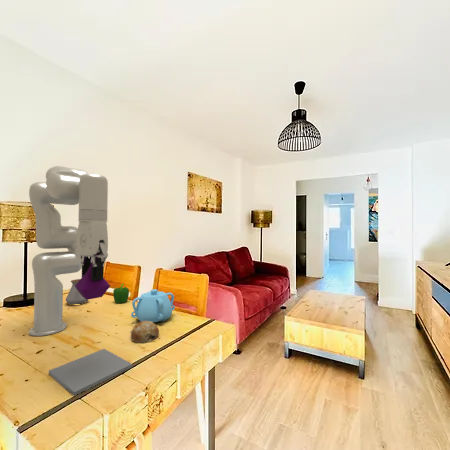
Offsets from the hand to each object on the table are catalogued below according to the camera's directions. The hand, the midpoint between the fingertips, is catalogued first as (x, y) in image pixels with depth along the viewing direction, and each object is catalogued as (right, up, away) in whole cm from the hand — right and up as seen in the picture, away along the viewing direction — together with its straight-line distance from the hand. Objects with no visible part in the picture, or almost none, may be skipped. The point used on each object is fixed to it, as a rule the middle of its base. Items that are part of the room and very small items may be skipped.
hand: (92, 278), depth 73 cm
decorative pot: (+6, -28, +41) cm, 50 cm away
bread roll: (+8, -28, +22) cm, 36 cm away
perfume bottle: (0, -6, 0) cm, 6 cm away
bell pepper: (-20, -28, +67) cm, 76 cm away
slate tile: (0, -27, -1) cm, 27 cm away
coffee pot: (-40, -28, +61) cm, 78 cm away
